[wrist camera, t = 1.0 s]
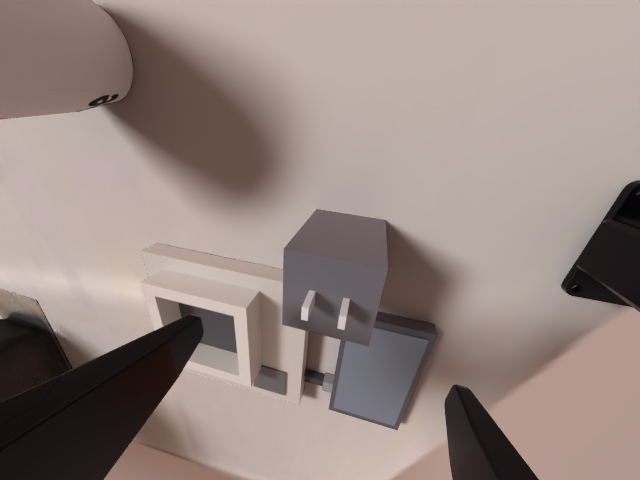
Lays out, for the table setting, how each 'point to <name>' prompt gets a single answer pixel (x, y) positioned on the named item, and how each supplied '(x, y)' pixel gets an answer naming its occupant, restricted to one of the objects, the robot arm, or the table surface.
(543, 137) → the table surface
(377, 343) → the phone
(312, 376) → the black and grey bar
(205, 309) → the outlet plate
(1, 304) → the shoulder bag
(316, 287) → the charger block
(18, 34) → the cup
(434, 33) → the table surface
